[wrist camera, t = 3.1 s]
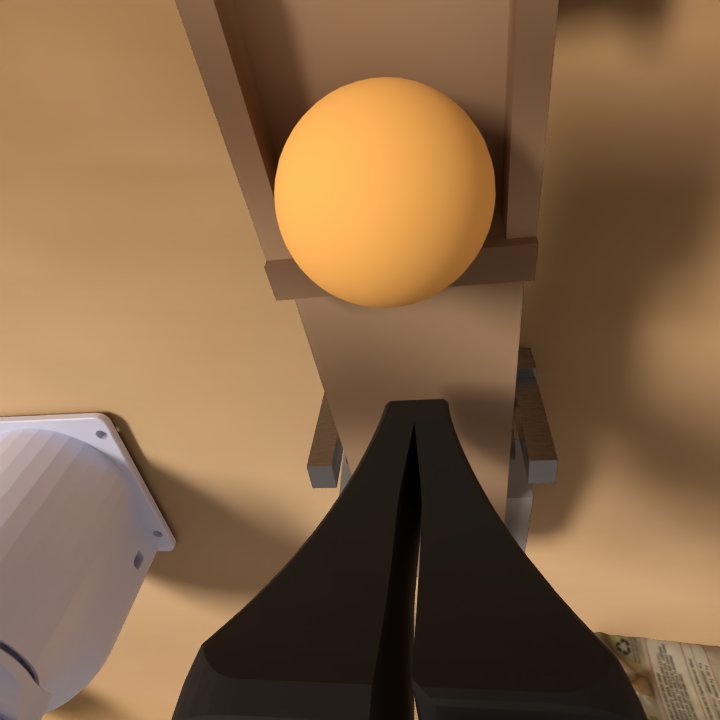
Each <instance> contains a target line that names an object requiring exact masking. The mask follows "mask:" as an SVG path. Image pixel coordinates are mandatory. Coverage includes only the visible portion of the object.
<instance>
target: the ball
mask: <svg viewBox="0 0 720 720" xmlns="http://www.w3.org/2000/svg"><path fill="white" fill-rule="evenodd" d="M495 197H496V193H495V174H494V169H493V164H492V160H491V157H490V154H489V151H488V149H487V146H486V143H485V141H484V139H483V137H482V135H481V133H480V131H479V130H478V128H477V127H476V125H475V124H474V123H473V121H472V120H471V119H470V117H469V116H468V115H467V113H466V112H465V111H464V110H463V109H462V108H461V107H460V106H459V105H458V104H457V103H456V102H454V101H453V100H452V99H450V98H449V97H447V96H446V95H445V94H443V93H441V92H439V91H437V90H436V89H434V88H432V87H430V86H428V85H425V84H422V83H419V82H416V81H413V80H408V79H403V78H394V77H379V78H370V79H365V80H360V81H356V82H354V83H351V84H348V85H345V86H343V87H340V88H338V89H337V90H335V91H333V92H331V93H329V94H328V95H326V96H325V97H323V98H322V99H321V100H319V101H318V102H317V103H316V104H315V105H314V106H313V107H312V108H310V109H309V110H308V111H307V112H306V113H305V115H304V116H303V117H302V118H301V119H300V121H299V122H298V123H297V124H296V126H295V127H294V129H293V130H292V132H291V134H290V136H289V138H288V139H287V141H286V143H285V146H284V148H283V151H282V153H281V156H280V159H279V163H278V168H277V172H276V178H275V189H274V199H275V211H276V217H277V221H278V225H279V229H280V232H281V235H282V237H283V240H284V242H285V245H286V247H287V248H288V250H289V252H290V254H291V255H292V257H293V259H294V260H295V262H296V263H297V264H298V266H299V267H300V268H301V270H302V271H303V272H304V273H305V274H306V275H307V276H308V277H309V278H310V279H311V280H312V281H313V282H315V283H316V284H317V285H318V286H319V287H321V288H322V289H324V290H325V291H327V292H328V293H330V294H332V295H334V296H336V297H337V298H340V299H342V300H345V301H347V302H350V303H353V304H357V305H361V306H366V307H373V308H393V307H401V306H406V305H410V304H414V303H417V302H420V301H423V300H425V299H428V298H430V297H432V296H434V295H436V294H437V293H439V292H441V291H442V290H444V289H445V288H447V287H448V286H449V285H450V284H452V283H453V282H454V281H456V280H457V279H458V278H459V277H460V276H461V275H462V274H463V273H464V272H465V270H466V269H467V268H468V267H469V265H470V264H471V263H472V262H473V260H474V259H475V258H476V256H477V254H478V253H479V251H480V249H481V248H482V246H483V243H484V241H485V239H486V236H487V234H488V232H489V229H490V226H491V222H492V218H493V213H494V206H495Z"/></svg>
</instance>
